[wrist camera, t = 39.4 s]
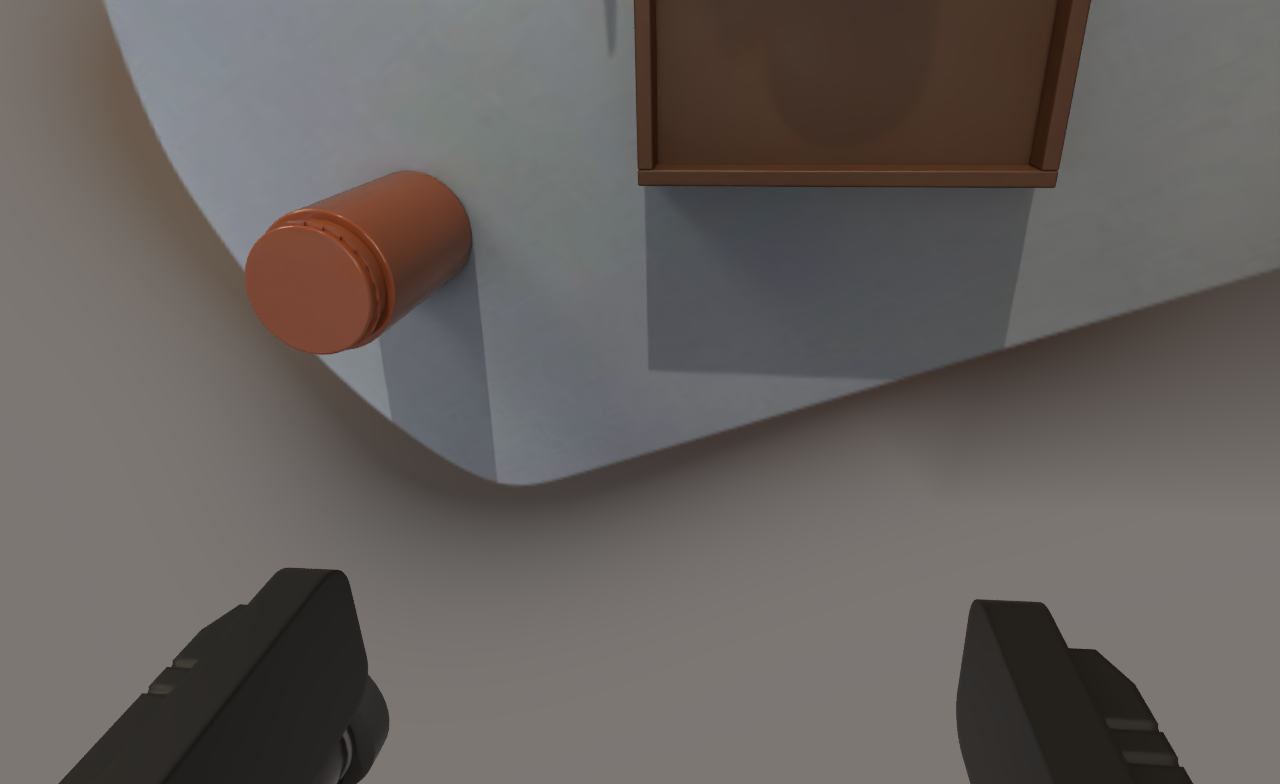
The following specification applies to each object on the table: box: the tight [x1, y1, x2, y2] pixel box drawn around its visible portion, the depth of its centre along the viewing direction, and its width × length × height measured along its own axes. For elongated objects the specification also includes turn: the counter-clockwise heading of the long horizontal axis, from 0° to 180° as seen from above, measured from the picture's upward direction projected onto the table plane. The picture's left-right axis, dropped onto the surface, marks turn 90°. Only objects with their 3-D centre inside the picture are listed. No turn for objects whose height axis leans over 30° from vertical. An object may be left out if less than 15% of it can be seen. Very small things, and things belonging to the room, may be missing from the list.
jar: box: [245, 171, 471, 354], centre depth 31 cm, size 5×5×9 cm
